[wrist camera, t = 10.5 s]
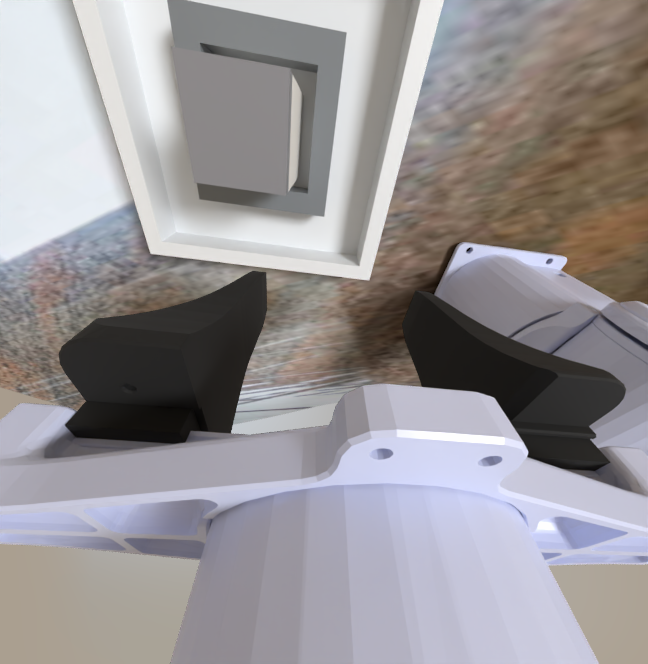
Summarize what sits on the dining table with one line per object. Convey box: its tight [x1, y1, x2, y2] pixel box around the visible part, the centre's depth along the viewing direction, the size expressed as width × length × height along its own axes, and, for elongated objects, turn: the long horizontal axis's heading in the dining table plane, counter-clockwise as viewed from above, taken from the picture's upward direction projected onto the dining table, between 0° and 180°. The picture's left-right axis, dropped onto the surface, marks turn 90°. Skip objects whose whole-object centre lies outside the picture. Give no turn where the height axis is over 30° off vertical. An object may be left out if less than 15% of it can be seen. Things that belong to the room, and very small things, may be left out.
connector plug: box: [171, 46, 303, 196], centre depth 12 cm, size 4×4×7 cm
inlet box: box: [72, 0, 444, 280], centre depth 15 cm, size 16×16×3 cm
